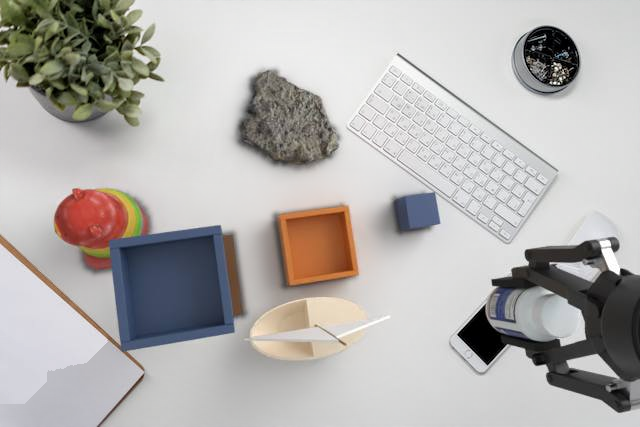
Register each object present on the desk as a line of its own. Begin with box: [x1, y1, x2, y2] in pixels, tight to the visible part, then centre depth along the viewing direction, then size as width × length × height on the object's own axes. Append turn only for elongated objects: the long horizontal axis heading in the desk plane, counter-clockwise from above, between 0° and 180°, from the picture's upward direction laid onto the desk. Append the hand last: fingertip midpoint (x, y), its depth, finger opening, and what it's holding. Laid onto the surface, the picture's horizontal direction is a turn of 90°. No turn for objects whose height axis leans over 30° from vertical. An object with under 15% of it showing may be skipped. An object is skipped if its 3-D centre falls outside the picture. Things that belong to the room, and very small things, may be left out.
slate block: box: [394, 191, 441, 231], centre depth 83 cm, size 5×5×5 cm
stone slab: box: [240, 69, 340, 165], centre depth 83 cm, size 12×17×3 cm
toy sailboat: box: [244, 296, 391, 362], centre depth 69 cm, size 21×25×9 cm
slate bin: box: [109, 224, 244, 353], centre depth 63 cm, size 12×12×34 cm
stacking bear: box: [53, 187, 148, 271], centre depth 69 cm, size 11×10×18 cm
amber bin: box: [276, 205, 360, 287], centre depth 81 cm, size 11×11×4 cm
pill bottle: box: [485, 286, 581, 342], centre depth 53 cm, size 5×5×10 cm
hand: (508, 309), depth 57 cm, fingers closed on pill bottle, 5 cm apart
